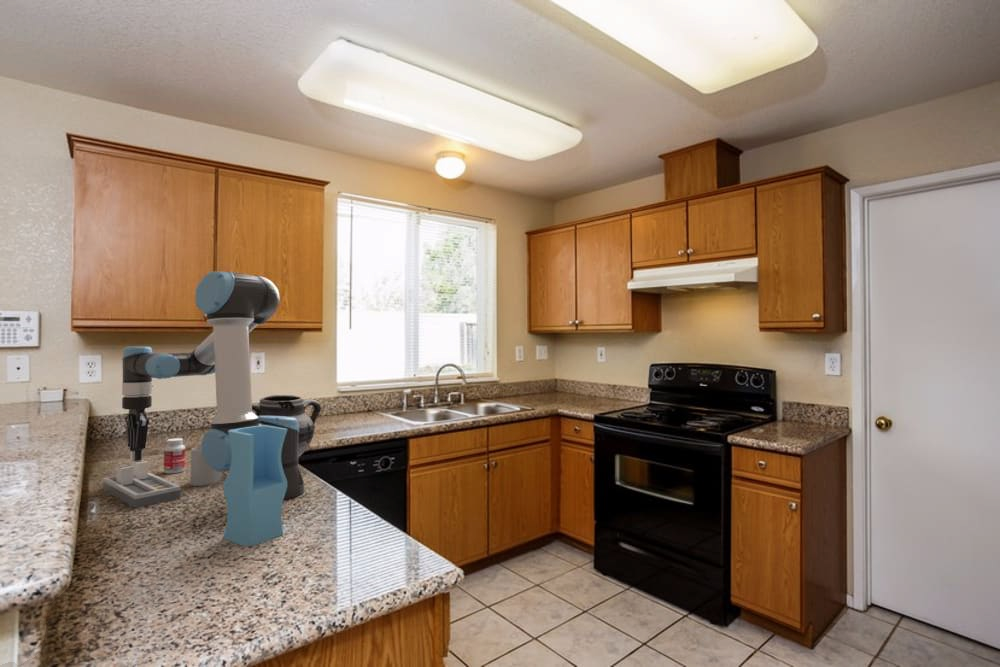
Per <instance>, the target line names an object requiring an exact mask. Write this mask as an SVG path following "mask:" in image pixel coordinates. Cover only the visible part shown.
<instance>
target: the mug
mask: <svg viewBox="0 0 1000 667" xmlns="http://www.w3.org/2000/svg"><path fill="white" fill-rule="evenodd" d="M189 480H190V485H191V486H193V487H206V486H211V485H216V484H219V483H220V482H221V481H222V472H218V471H216V470H214V469H212V468H211V467H210V466H209V464H207V462H206V461H205V459H204V456H203V454H202V449H201V445H200V446H195V447H192V448H191V449H190V479H189Z"/></svg>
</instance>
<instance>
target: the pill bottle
mask: <svg viewBox="0 0 1000 667" xmlns="http://www.w3.org/2000/svg"><path fill="white" fill-rule="evenodd" d="M183 441H184V439H183V438H181V437H180V438H178V437H175V438H169V439H167V440H166V446H165V447H164V449H163V473H165V474H168V475H170V474H171V475H172V474H179V473H183V472H184V471H185V470H186V446H185V445H184V442H183Z"/></svg>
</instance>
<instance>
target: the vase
mask: <svg viewBox="0 0 1000 667" xmlns="http://www.w3.org/2000/svg"><path fill="white" fill-rule="evenodd" d="M286 433H287V429H286V428H280V427H274V426H268V425H258V426H251V427H245V428H238V429H232V430H229V431H228V434H229V438H230V442H231V448H232V460H231V466H230V469H229V471H227V472H228V473H227V476H226V478H225V481H224V483H223V486H222V487H223V490H222V491H223V493H224V497H225V501H226V507H227V516H226V519H227V520H226V526H225V529H224V533H223V536H222V539H224V540H227V541H229V542H233V543H234V544H236V545H237V544H238V545H239V546H243V547H252V546H256V545H259V544H261V543H264V542H266V541H270V540H272V539H274V538H278V537H281V536H282V535H283V534H284V529H283V524H282V510H283V504H284V500H285V499H284V496H285V492H286V489H287V479H286V477H285V474H284V471H283V467H282V462H281V452H282V446H283V442H284V439H285V436H286Z"/></svg>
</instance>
